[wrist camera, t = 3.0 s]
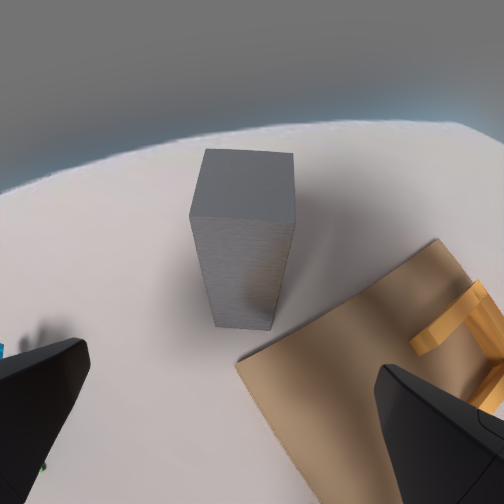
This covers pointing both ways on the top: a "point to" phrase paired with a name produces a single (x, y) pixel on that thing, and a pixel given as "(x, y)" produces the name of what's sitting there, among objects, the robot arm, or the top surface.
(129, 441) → the top surface
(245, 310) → the link bar
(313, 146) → the top surface
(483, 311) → the plate
